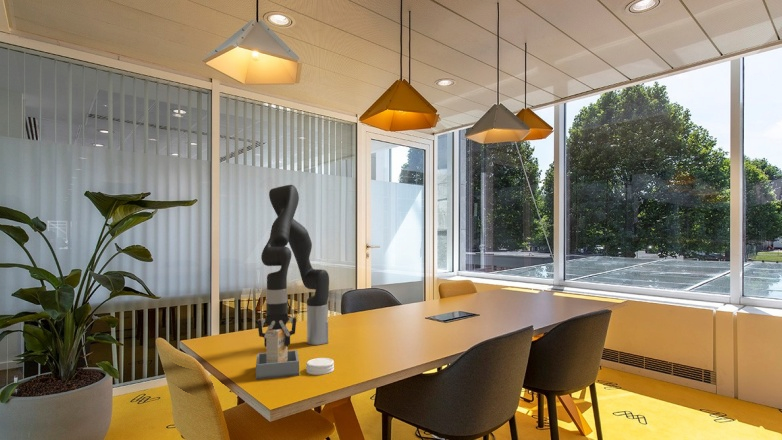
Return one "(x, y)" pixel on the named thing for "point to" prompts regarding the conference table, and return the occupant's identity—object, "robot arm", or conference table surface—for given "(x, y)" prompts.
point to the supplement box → (276, 346)
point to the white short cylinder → (320, 366)
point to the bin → (277, 366)
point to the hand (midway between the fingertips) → (277, 346)
